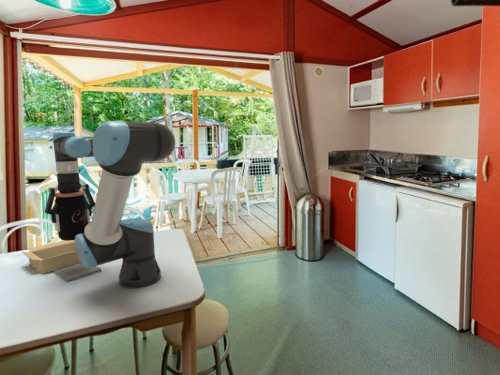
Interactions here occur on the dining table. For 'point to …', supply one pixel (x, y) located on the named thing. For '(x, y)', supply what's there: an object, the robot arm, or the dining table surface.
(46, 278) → the dining table surface
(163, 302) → the dining table surface
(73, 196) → the coffee jar
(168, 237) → the dining table surface
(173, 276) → the dining table surface
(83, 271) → the plate
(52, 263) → the carton
